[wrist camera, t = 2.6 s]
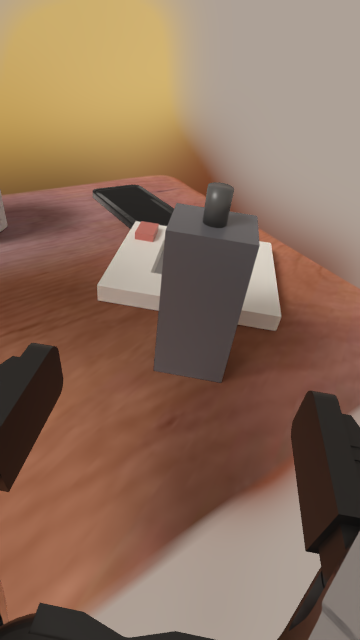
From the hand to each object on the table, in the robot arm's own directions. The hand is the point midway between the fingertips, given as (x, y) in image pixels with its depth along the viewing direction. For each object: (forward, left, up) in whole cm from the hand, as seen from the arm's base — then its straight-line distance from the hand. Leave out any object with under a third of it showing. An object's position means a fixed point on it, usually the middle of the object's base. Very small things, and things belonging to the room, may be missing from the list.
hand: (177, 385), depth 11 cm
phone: (-10, +38, -11) cm, 40 cm away
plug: (0, +12, -10) cm, 15 cm away
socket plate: (-1, +24, -10) cm, 26 cm away
